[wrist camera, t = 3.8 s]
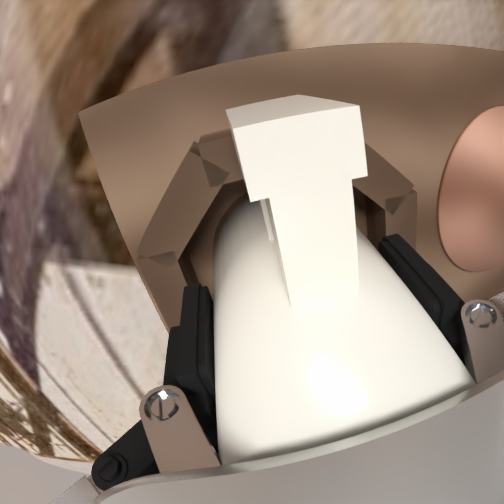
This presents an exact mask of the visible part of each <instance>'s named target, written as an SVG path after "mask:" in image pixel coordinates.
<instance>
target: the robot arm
mask: <svg viewBox="0 0 504 504" xmlns="http://www.w3.org/2000/svg"><path fill="white" fill-rule="evenodd" d="M378 252H379V253H380V254H381V255H382V257H383V258H384V259H385V260H386V261H387V263H388V264H389V265H390V266H391V268H392V269H393V270H394V271H395V273H396V274H397V275H398V276H399V277H400V279H401V280H402V281H403V283H404V284H405V285H406V286H407V288H408V289H409V290H410V291H411V293H412V294H413V295H414V297H415V298H416V299H417V300H418V302H419V303H420V304H421V306H422V307H423V308H424V310H425V311H426V312H427V314H428V315H429V316H430V318H431V319H432V320H433V322H434V323H435V324H436V326H437V327H438V329H439V330H440V331H441V333H442V334H443V336H444V337H445V338H446V340H447V341H448V343H449V344H450V345H451V347H452V348H453V350H454V351H455V353H456V354H457V356H458V357H459V358H460V360H461V361H462V363H463V364H464V366H465V367H466V369H467V370H468V372H469V373H470V375H471V376H472V378H473V379H474V381H475V383H476V384H477V385H476V386H474V387H472V388H470V389H468V390H466V391H464V392H462V393H460V394H458V395H456V396H454V397H452V398H450V399H448V400H445V401H443V402H441V403H439V404H437V405H434V406H432V407H430V408H428V409H425V410H423V411H421V412H418V413H416V414H413V415H411V416H408V417H406V418H403V419H401V420H398V421H396V422H393V423H390V424H388V425H385V426H382V427H379V428H377V429H374V430H371V431H368V432H365V433H362V434H359V435H356V436H353V437H349V438H346V439H343V440H339V441H336V442H332V443H329V444H325V445H321V446H318V447H314V448H310V449H306V450H302V451H298V452H293V453H289V454H284V455H280V456H275V457H270V458H265V459H259V460H254V461H248V462H242V463H235V464H229V465H222V466H221V463H220V460H219V455H218V437H217V417H216V393H215V364H214V322H213V300H212V297H211V295H210V292H209V289H208V287H207V286H202V285H201V284H200V283H197V284H193V285H189V286H185V287H184V290H183V299H182V308H181V317H180V326H175V327H171V328H170V332H169V339H168V347H167V355H166V364H165V373H164V382H163V385H162V386H159V387H156V388H154V389H153V390H151V391H149V392H148V393H147V394H146V395H145V396H144V398H143V399H142V401H141V403H140V407H139V412H140V417H141V420H140V421H139V422H138V423H136V424H135V425H134V426H133V427H132V428H131V429H130V430H129V431H127V432H126V433H125V434H124V435H123V436H122V437H121V438H119V439H118V440H117V441H116V442H115V443H114V444H113V445H111V446H110V447H109V448H108V449H107V450H106V451H105V452H103V453H102V454H101V455H100V456H99V457H98V458H97V459H96V460H95V462H94V464H93V466H92V471H91V475H90V476H89V477H86V476H83V477H82V478H81V479H80V480H78V481H77V482H76V483H75V484H74V485H73V486H71V487H70V488H69V489H67V490H66V491H65V492H64V493H62V494H61V495H60V496H59V497H57V498H56V499H55V500H53V501H52V502H51V503H50V504H504V321H503V318H502V316H501V313H500V311H499V310H498V308H497V307H496V306H495V305H494V304H492V303H490V302H488V301H485V300H478V299H476V300H471V301H469V302H467V303H465V302H464V301H463V300H462V299H461V298H460V297H459V296H458V294H457V293H456V292H455V291H454V290H453V289H452V288H451V287H450V286H449V285H448V283H447V282H446V281H445V280H444V279H443V278H442V277H441V276H440V275H439V274H438V273H437V272H436V271H435V270H434V268H433V267H432V266H431V265H430V264H428V263H427V262H426V261H425V260H424V259H423V258H422V257H421V256H420V255H419V254H418V253H417V252H416V251H415V250H414V249H413V248H412V247H411V246H410V245H409V244H408V243H407V242H406V241H405V240H404V239H403V238H402V237H401V236H400V235H399V234H393V235H389V236H385V237H383V238H382V242H379V243H378Z"/></svg>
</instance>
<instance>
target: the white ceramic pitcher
mask: <svg viewBox="0 0 504 504" xmlns="http://www.w3.org/2000/svg"><path fill="white" fill-rule="evenodd" d="M226 114H227V118H228V122H229V126H230V130H231V134H232V138H233V142H234V146H235V150H236V154H237V157H238V160H239V164H240V167H241V171H242V174H243V178H244V181H245V185H246V188H247V192H246V193H244V194H243V195H241V196H240V197H239V198H237V199H236V200H235V201H234V202H233V203H232V204H231V205H230V206H229V207H228V208H227V210H226V211H225V212H224V214H223V215H222V217H221V219H220V221H219V223H218V225H217V228H216V230H215V234H214V239H213V322H214V364H215V393H216V417H217V437H218V455H219V460H220V463H221V466H222V465H229V464H235V463H242V462H248V461H254V460H259V459H265V458H270V457H275V456H280V455H284V454H289V453H293V452H298V451H302V450H306V449H310V448H314V447H318V446H321V445H325V444H329V443H332V442H336V441H339V440H343V439H346V438H349V437H353V436H356V435H359V434H362V433H365V432H368V431H371V430H374V429H377V428H379V427H382V426H385V425H388V424H390V423H393V422H396V421H398V420H401V419H403V418H406V417H408V416H411V415H413V414H416V413H418V412H421V411H423V410H425V409H428V408H430V407H432V406H434V405H437V404H439V403H441V402H443V401H445V400H448V399H450V398H452V397H454V396H456V395H458V394H460V393H462V392H464V391H466V390H468V389H470V388H472V387H474V386H476V385H477V384H476V383H475V381H474V379H473V378H472V376H471V375H470V373H469V372H468V370H467V369H466V367H465V366H464V364H463V363H462V361H461V360H460V358H459V357H458V356H457V354H456V353H455V351H454V350H453V348H452V347H451V345H450V344H449V343H448V341H447V340H446V338H445V337H444V336H443V334H442V333H441V331H440V330H439V329H438V327H437V326H436V324H435V323H434V322H433V320H432V319H431V318H430V316H429V315H428V314H427V312H426V311H425V310H424V308H423V307H422V306H421V304H420V303H419V302H418V300H417V299H416V298H415V297H414V295H413V294H412V293H411V291H410V290H409V289H408V288H407V286H406V285H405V284H404V283H403V281H402V280H401V279H400V277H399V276H398V275H397V274H396V273H395V271H394V270H393V269H392V268H391V266H390V265H389V264H388V263H387V261H386V260H385V259H384V258H383V257H382V255H381V254H380V253H379V252H378V251H377V249H376V248H375V247H374V246H373V245H372V244H371V242H370V241H369V240H368V239H367V238H366V237H365V235H364V234H363V233H362V232H361V231H360V230H359V228H358V227H357V226H356V222H355V210H354V199H353V188H352V179H356V178H361V177H366V176H368V173H367V163H366V154H365V145H364V136H363V129H362V121H361V114H360V107H359V105H355V104H350V103H345V102H340V101H335V100H329V99H323V98H318V97H311V96H305V95H293V96H287V97H282V98H277V99H272V100H267V101H262V102H257V103H252V104H248V105H243V106H239V107H235V108H230V109H226Z"/></svg>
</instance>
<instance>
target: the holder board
mask: <svg viewBox="0 0 504 504" xmlns="http://www.w3.org/2000/svg"><path fill="white" fill-rule="evenodd" d="M293 95H305V96H311V97H318V98H323V99H329V100H335V101H340V102H345V103H350V104H355V105H359V107H360V114H361V121H362V129H363V136H364V145H365V154H366V163H367V173H368V176H366V177H361V178H356V179H352V188H353V199H354V210H355V222H356V226H357V227H358V228H359V230H360V231H361V232H362V233H363V234H364V235H365V237H366V238H367V239H368V240H369V241H370V242H371V244H372V245H373V246H374V247H375V248H376V249H377V251H378V243H379V242H382V238H383V237H385V236H389V235H393V234H399V235H400V236H401V237H402V238H403V239H404V240H405V241H406V242H407V243H408V244H409V245H410V246H411V247H412V248H413V249H414V250H415V251H416V252H417V253H418V254H419V255H420V256H421V257H422V258H423V259H424V260H425V261H426V262H427V263H428V264H430V265H431V266H432V267H433V268H434V270H435V271H436V272H437V273H438V274H439V275H440V276H441V277H442V278H443V279H444V280H445V281H446V282H447V283H448V285H449V286H450V287H451V288H452V289H453V290H454V291H455V292H456V293H457V294H458V296H459V297H460V298H461V299H462V300H463V301H464V302H465V303H467V302H469V301H471V300H476V299H478V300H486V299H489V298H491V297H493V296H495V295H497V294H499V293H501V292H503V291H504V52H502V51H496V50H490V49H482V48H475V47H466V46H455V45H443V44H424V43H368V44H349V45H336V46H325V47H315V48H307V49H299V50H292V51H285V52H278V53H272V54H267V55H261V56H256V57H250V58H245V59H241V60H236V61H231V62H227V63H223V64H218V65H214V66H210V67H206V68H202V69H199V70H195V71H191V72H188V73H184V74H181V75H177V76H174V77H171V78H167V79H164V80H161V81H158V82H155V83H152V84H149V85H146V86H143V87H140V88H137V89H135V90H132V91H129V92H126V93H124V94H121V95H118V96H116V97H113V98H111V99H108V100H106V101H103V102H101V103H98V104H96V105H94V106H91V107H89V108H87V109H84V110H82V111H80V112H78V115H79V118H80V121H81V124H82V128H83V131H84V134H85V137H86V140H87V143H88V146H89V149H90V152H91V155H92V158H93V161H94V164H95V166H96V169H97V172H98V175H99V178H100V180H101V183H102V186H103V188H104V191H105V194H106V196H107V199H108V201H109V204H110V207H111V209H112V212H113V214H114V217H115V219H116V221H117V224H118V226H119V229H120V231H121V234H122V236H123V238H124V241H125V243H126V245H127V248H128V250H129V252H130V254H131V257H132V259H133V261H134V263H135V266H136V268H137V270H138V272H139V274H140V276H141V279H142V281H143V283H144V285H145V287H146V289H147V291H148V293H149V295H150V298H151V300H152V302H153V304H154V306H155V308H156V310H157V312H158V314H159V316H160V318H161V320H162V322H163V324H164V326H165V327H166V329H167V331H168V333H169V332H170V328H171V327H175V326H180V317H181V308H182V299H183V290H184V287H185V286H189V285H193V284H197V283H200V284H201V285H202V286H207V287H208V289H209V292H210V295H211V297H212V300H213V239H214V234H215V230H216V228H217V225H218V223H219V221H220V219H221V217H222V215H223V214H224V212H225V211H226V210H227V208H228V207H229V206H230V205H231V204H232V203H233V202H234V201H235V200H236V199H237V198H239V197H240V196H241V195H243V194H244V193H246V192H247V188H246V185H245V181H244V178H243V174H242V171H241V167H240V164H239V160H238V157H237V154H236V150H235V146H234V142H233V138H232V134H231V130H230V126H229V122H228V118H227V114H226V109H230V108H235V107H239V106H243V105H248V104H252V103H257V102H262V101H267V100H272V99H277V98H282V97H287V96H293Z"/></svg>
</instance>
